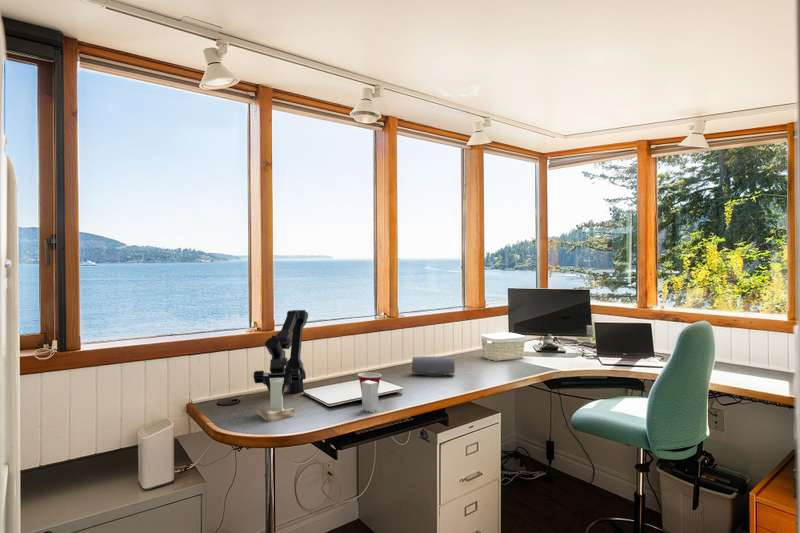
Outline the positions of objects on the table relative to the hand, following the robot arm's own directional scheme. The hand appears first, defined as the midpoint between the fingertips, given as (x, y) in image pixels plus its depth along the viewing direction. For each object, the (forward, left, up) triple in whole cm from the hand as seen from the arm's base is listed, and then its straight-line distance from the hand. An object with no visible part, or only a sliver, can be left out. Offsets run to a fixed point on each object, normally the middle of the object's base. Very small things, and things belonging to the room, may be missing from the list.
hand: (276, 394), depth 198 cm
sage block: (-1, -1, -7) cm, 7 cm away
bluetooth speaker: (-95, -11, -9) cm, 96 cm away
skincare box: (-34, +18, -9) cm, 39 cm away
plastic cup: (-42, +6, -9) cm, 43 cm away
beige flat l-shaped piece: (-1, -1, -9) cm, 9 cm away
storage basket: (-157, -16, -9) cm, 158 cm away
